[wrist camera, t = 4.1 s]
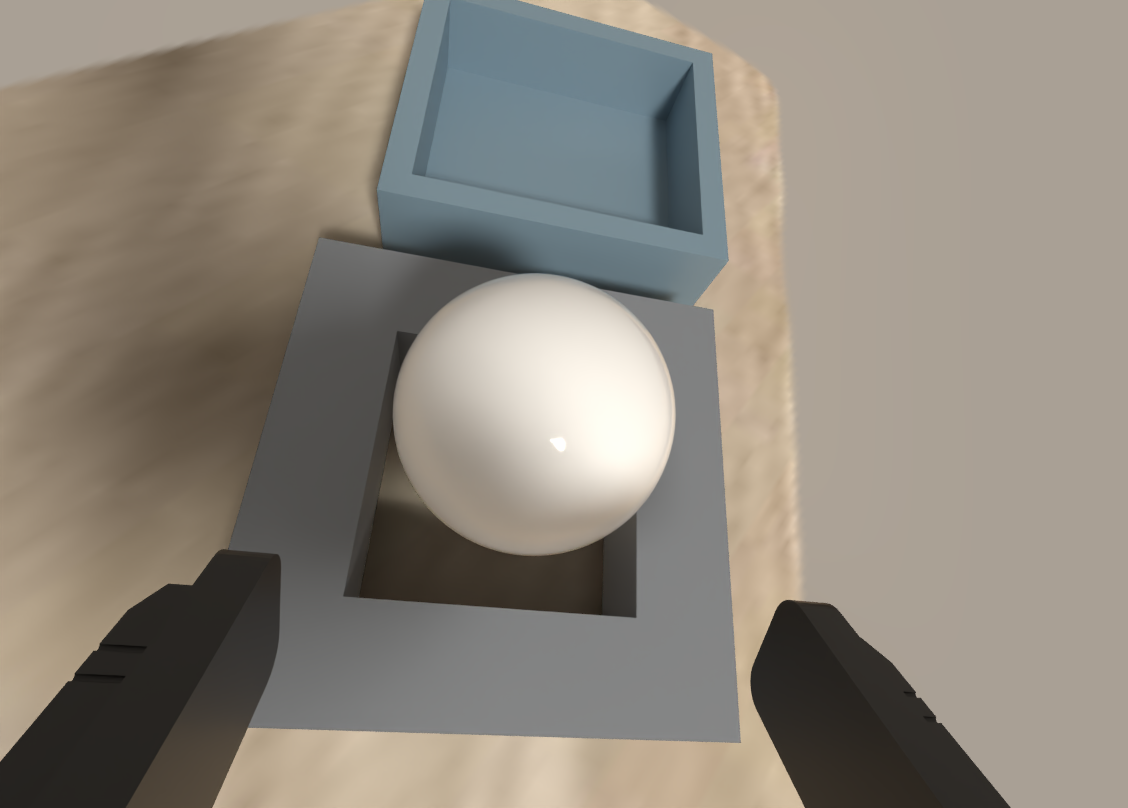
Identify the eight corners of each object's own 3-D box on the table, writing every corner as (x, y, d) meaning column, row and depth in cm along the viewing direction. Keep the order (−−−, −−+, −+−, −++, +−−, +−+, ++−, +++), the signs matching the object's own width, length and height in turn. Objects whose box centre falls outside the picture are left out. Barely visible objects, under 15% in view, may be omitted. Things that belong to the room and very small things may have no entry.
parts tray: (384, 261, 23) (376, 189, 19) (429, 63, 27) (430, -24, 24) (684, 315, 25) (728, 260, 21) (677, 124, 30) (711, 53, 26)
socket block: (225, 709, 16) (176, 725, 13) (334, 296, 22) (319, 237, 18) (686, 726, 18) (740, 742, 15) (675, 353, 24) (713, 309, 21)
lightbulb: (490, 380, 22) (545, 160, 12) (616, 489, 21) (783, 352, 11) (363, 501, 19) (298, 345, 9) (504, 629, 18) (598, 612, 8)
